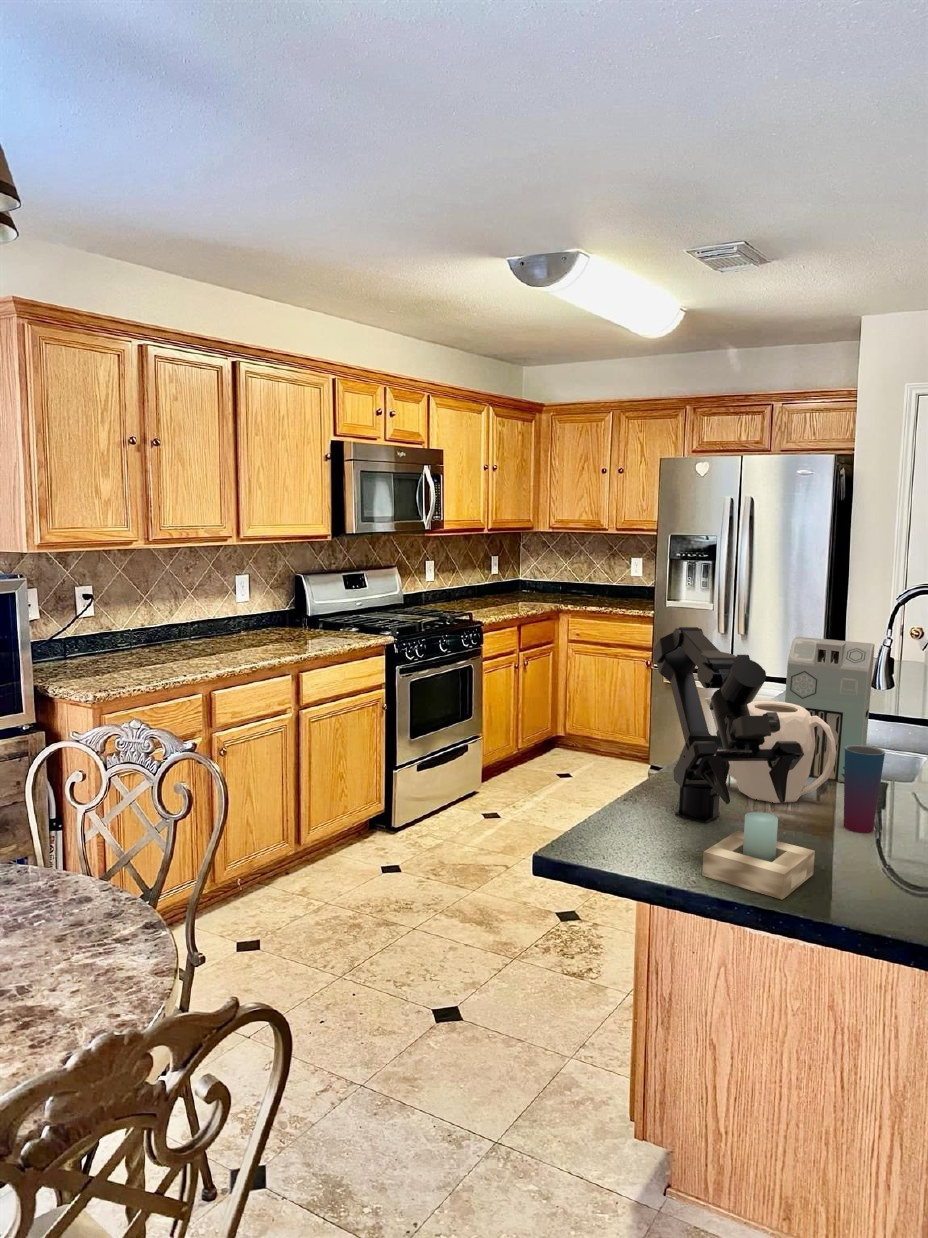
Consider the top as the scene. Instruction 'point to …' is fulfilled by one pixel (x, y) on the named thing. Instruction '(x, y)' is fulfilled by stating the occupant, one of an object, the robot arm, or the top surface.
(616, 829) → the top surface
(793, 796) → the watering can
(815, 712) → the device
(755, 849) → the peg
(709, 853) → the socket
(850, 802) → the cup
